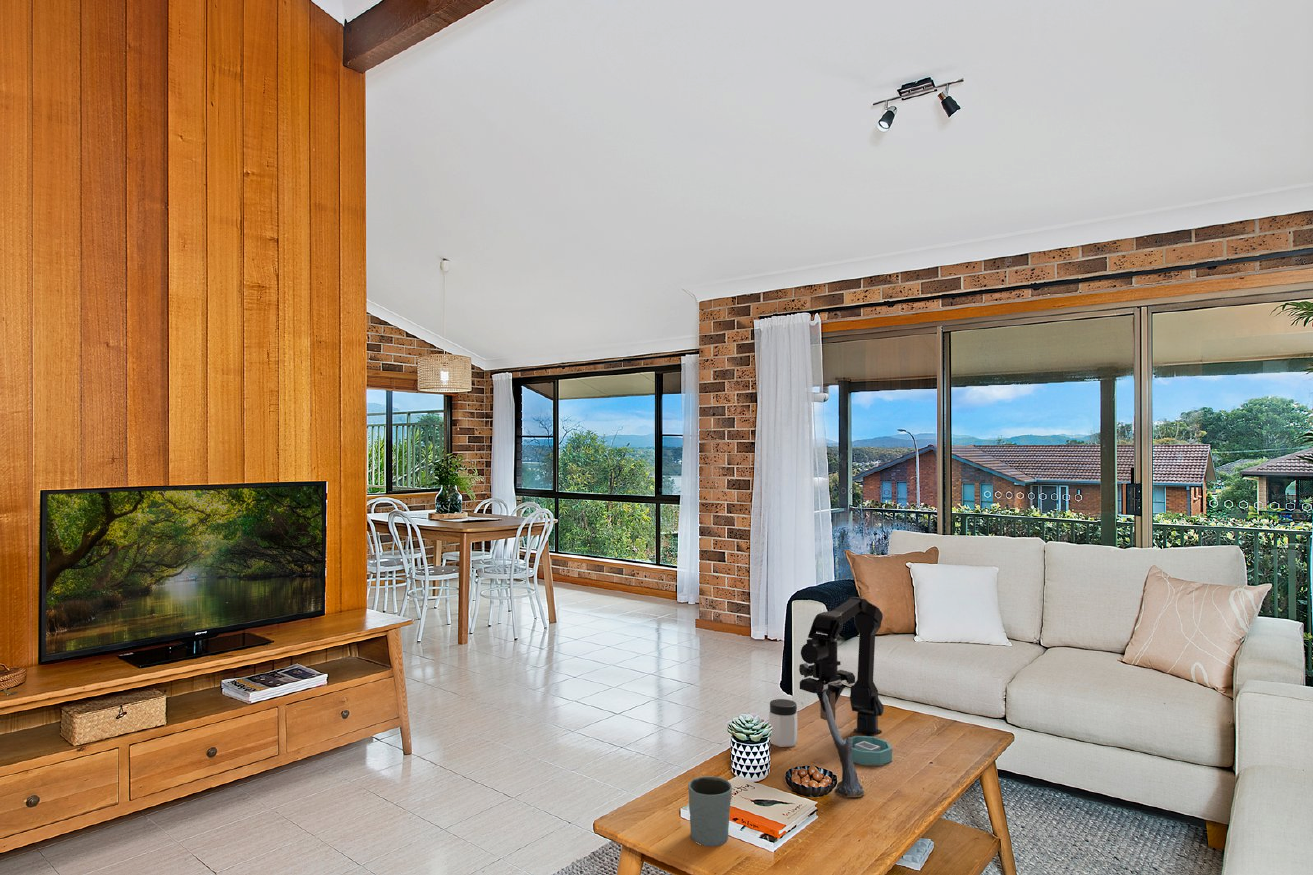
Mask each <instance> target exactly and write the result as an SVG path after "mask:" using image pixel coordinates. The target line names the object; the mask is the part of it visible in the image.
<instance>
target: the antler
mask: <svg viewBox="0 0 1313 875" xmlns="http://www.w3.org/2000/svg"><path fill="white" fill-rule="evenodd" d="M823 702H824V705H825V711H826V718H827V720H826V722H827V725H828V729H829V731H830V732H829V733H830V735H831V738H832V741H833V742H834V746H835V748H836V750H837V753H838V756H839V761H840V763H841V767H842V768H841V769H842V771H841V772H842V773H841V781H839V782H838V783H837V784H836V788H835V789H834V793H835V794H836V795H839V796H841V797H844V798H846V799H848V798H859V797H862V796H863V795H865V792H866V791H865V790H863V788H864V787H863V785H861V783H860V782H859V778H858V772H857V770H856V767H855V764H854V762H853V761H852V744H853V740H852V739H851V737H850V736H847V737H846V738H845V739H846V743H844V739H843V737H842V736H841V733H840V731H839V729H838V726H837V723H836V719H835V720H834V717H833V713H832V709H831V706H830V704H829V700H828V697H827V695H826V692H823Z"/></svg>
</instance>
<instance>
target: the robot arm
mask: <svg viewBox="0 0 1313 875" xmlns="http://www.w3.org/2000/svg"><path fill="white" fill-rule="evenodd" d="M883 614H884V613H883V612H882V610H880V608H879V607H878V606H876V605H874V604H872V603H871V602H869V601H868V600H867V599H865V598H864V597H859V596H857V597H856V596H850V597H848V599H847V600H846V601H844V602H843V603H842V604H840V605H839V606H838V607H835V608H834V609H833V610H831V611H823V612H820V613H818V614H816V615H815V617H814V618H813V620H812V624H811V627H810V630H809V632H808V635H807V639H806V644H803V645H802V647H801V650H800V656H801V659H802V660H803V661H804V662H805V663H801V664H799V669H798V671H799V675H801V676H803V677H804V678H803V679H801V680H800V681H799V689H800V690H802V691H805V692H808V693H812V694H816V696H817V698H818V701H819V702H820V704H821V706H822V709H823V711H824V712H826V711H825V705H824V702H823V692H826V695H827V697H828V700H830V695H831V692H835V705H836V703H837V701H838V700H839V698H840V696H841V694H842V692H843V691H844V689H846V685H843V683H842V682H843V681H846V683H847V684H848V685H850V695H849V702H850V707H851V712H856V714H857V715H856V717H857V718H856V728H854V729H853V732H855V733H859V734H861V735H863V736H868V737H873V736H875V735H877V734H880V733H883V730H881V729H879V726H878V725H879V724H878V721H879V720H878V719H879V718H878V717H881V716H883V714H884V709H885V707H884V705H883V703H882V702H881V700H880V698H879V689H878V688H877V686H876V684H875V682H874V669H875V646H876V645H875V643H876V634H878V631H879V630H880V629H881V627H882V622H883V618H884V617H883ZM852 618H854V626H855V628H856V630H857V633H859V635H858V638H859V640H858V658H857V660H858V661H857V678H856V676H855V674H854V673H853V672H850V671H846V670H844V669H839V670H838V666H841V661H839V660H838V641H840V640H841V637H840V635H839V634H840V633H841V631H843V628H844V627H843V625H844V624H845V623H846V622H848V621H849V620H850V619H852ZM812 677H813V678H812Z"/></svg>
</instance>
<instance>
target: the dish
mask: <svg viewBox="0 0 1313 875" xmlns="http://www.w3.org/2000/svg"><path fill="white" fill-rule="evenodd" d="M850 738H851V739H852V740H853V744H852V761H853V763H855V764H859V765H861V766H879V767H880V766H884V765H885V764H888V763H891V762H893V748H892V746H891V744H890V741H887V740H884V739H881V738H880V737H879V738H878V737H876V736H867V735H863V736H862V735H854V736H851V737H850ZM843 741H844V743H846V738H844V739H843Z"/></svg>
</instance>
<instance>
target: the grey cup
mask: <svg viewBox="0 0 1313 875" xmlns="http://www.w3.org/2000/svg"><path fill="white" fill-rule="evenodd" d="M687 785H688V787H687V788H688V804H689V806H688V807H689V808H688V809H689V815H690V816H689V825H690V826H689V827H690V838H691V840H692V841H693V842H694V841H695V842H697V843H699V844H701V845H700V846H702V845H704V846H703V847H718V846H721V845H723V844H726V843H727V841H728V839H729V827H730V813H731V803H732V802H731V801H732V792H733V785H732V784H731V783H730V782H729V781H728V780H726V779H725V778H721V777H717V776H711V775H710V776H699V777H696V778H693V779H691V780H690V781H689V783H688V784H687ZM695 842H694V843H695ZM697 843H696V844H697ZM699 844H698V845H699Z"/></svg>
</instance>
